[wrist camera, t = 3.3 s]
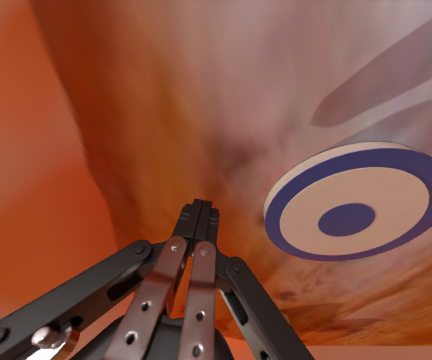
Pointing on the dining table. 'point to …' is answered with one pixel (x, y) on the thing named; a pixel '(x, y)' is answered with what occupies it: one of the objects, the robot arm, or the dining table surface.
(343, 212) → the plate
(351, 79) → the dining table surface
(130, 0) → the dining table surface
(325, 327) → the dining table surface
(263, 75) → the dining table surface
